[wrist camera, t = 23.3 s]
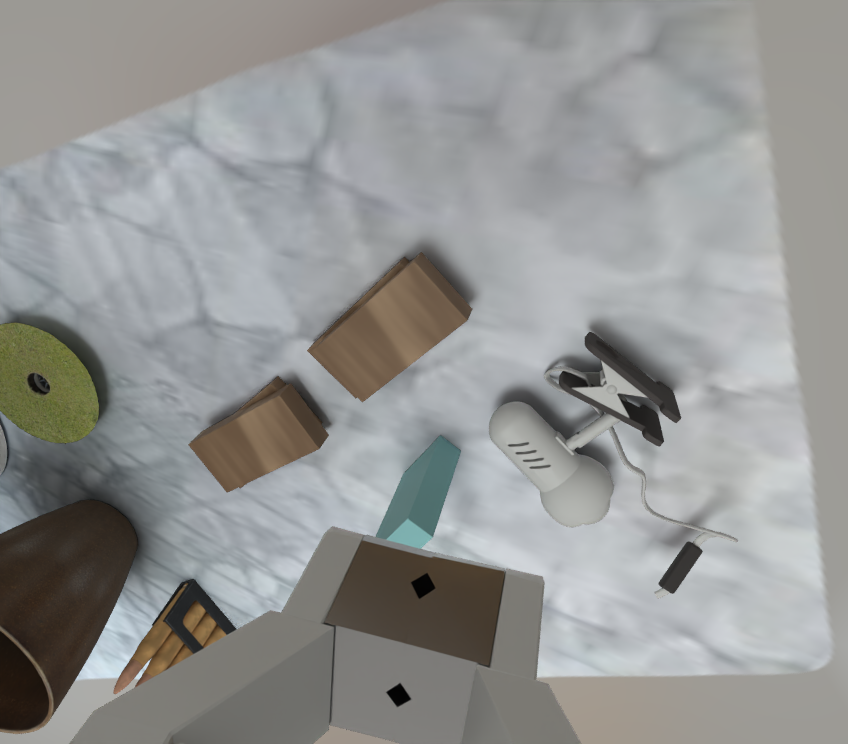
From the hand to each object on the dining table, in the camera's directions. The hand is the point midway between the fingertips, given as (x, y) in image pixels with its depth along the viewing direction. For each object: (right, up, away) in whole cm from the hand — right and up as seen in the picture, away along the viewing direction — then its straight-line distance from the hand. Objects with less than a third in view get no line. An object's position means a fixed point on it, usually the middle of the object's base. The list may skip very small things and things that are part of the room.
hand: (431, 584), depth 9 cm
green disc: (-32, +3, +47) cm, 57 cm away
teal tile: (0, -4, +42) cm, 42 cm away
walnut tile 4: (-9, 0, +39) cm, 40 cm away
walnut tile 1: (+1, +8, +32) cm, 33 cm away
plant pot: (-31, -12, +54) cm, 64 cm away
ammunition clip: (-20, -22, +56) cm, 63 cm away
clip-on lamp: (+20, -11, +36) cm, 42 cm away
